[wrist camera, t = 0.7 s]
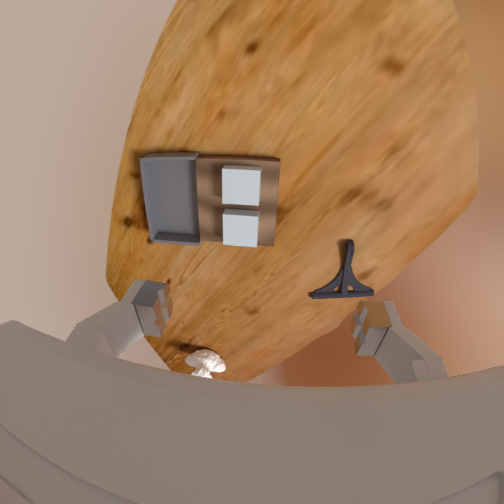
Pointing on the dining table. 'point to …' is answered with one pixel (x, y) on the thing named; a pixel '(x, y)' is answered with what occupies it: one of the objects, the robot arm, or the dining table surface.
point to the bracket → (344, 281)
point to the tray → (171, 197)
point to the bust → (205, 362)
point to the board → (214, 208)
